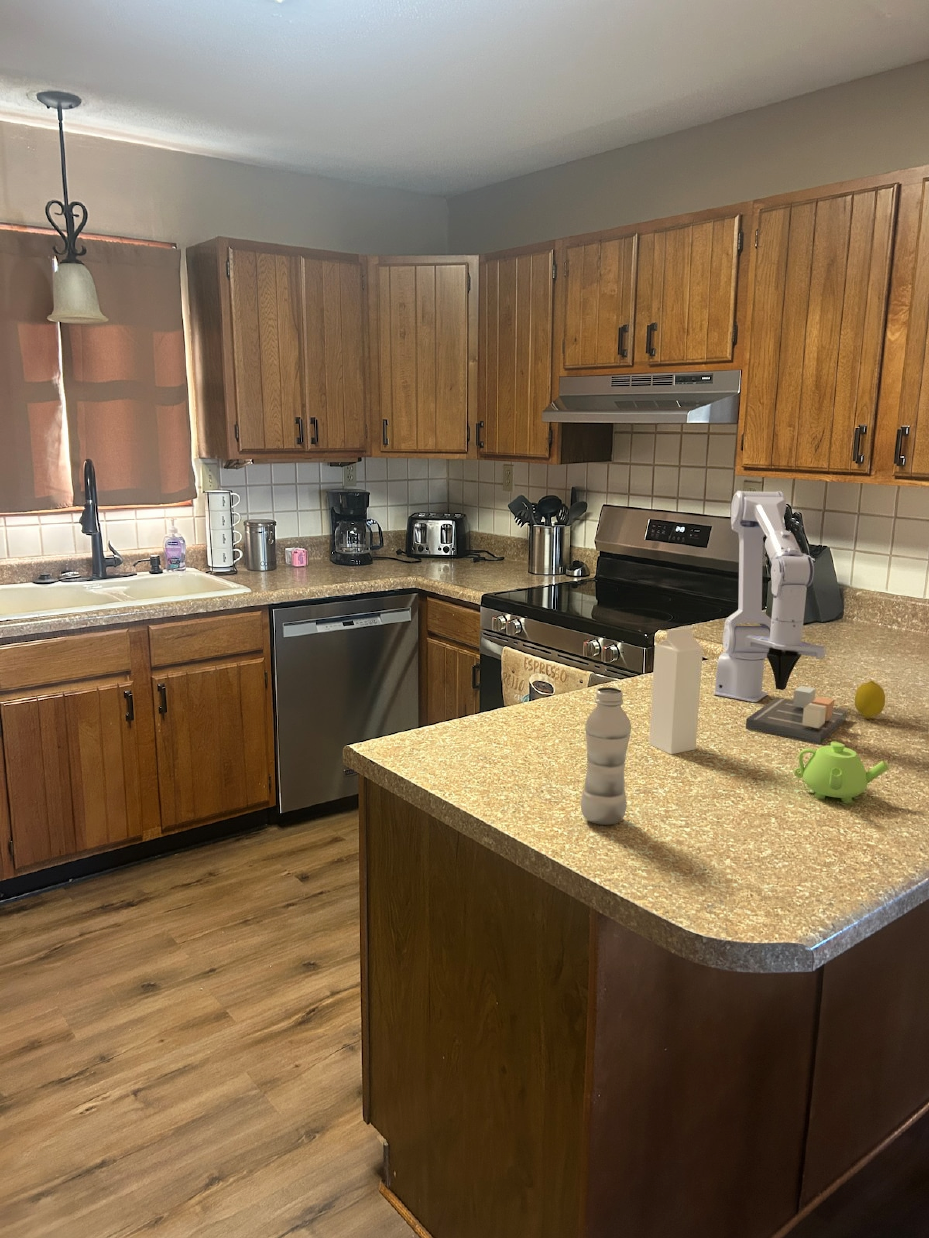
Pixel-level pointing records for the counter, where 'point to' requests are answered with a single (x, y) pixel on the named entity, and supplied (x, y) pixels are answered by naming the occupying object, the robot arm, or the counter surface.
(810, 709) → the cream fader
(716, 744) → the counter surface
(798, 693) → the block
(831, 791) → the teapot
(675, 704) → the milk
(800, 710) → the panel
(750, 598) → the robot arm
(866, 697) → the lemon
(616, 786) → the plastic bottle
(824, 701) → the block
